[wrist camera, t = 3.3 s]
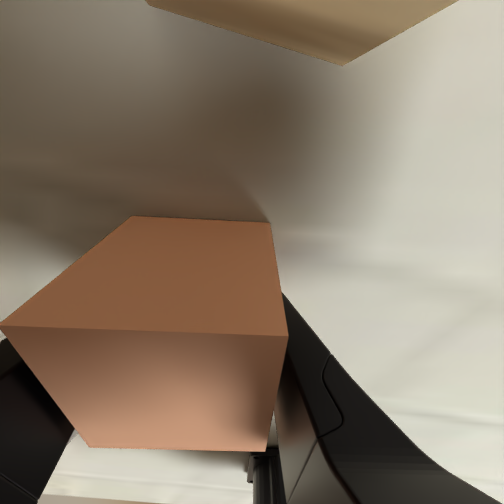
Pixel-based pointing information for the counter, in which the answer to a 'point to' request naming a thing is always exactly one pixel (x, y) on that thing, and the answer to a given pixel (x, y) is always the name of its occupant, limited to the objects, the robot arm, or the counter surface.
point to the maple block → (312, 22)
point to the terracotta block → (162, 336)
